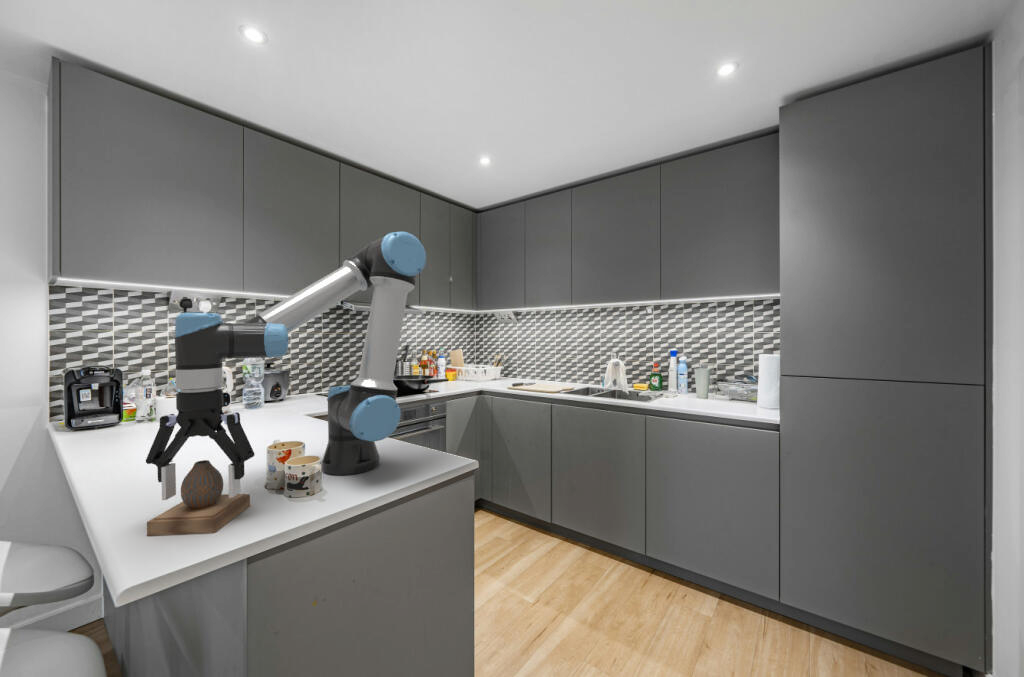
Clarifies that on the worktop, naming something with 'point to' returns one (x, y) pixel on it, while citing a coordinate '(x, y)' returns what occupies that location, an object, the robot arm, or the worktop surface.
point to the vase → (202, 485)
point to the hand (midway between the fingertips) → (202, 496)
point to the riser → (198, 517)
